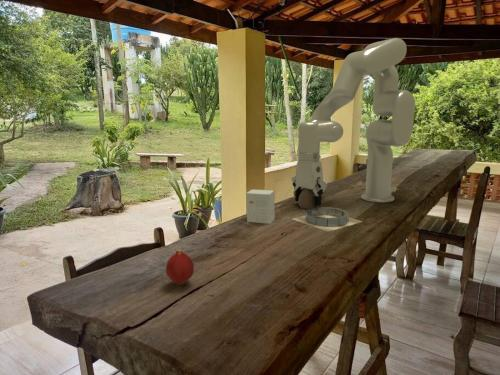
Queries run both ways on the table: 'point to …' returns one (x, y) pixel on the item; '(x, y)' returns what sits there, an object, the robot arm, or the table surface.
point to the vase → (306, 199)
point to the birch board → (350, 222)
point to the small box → (260, 206)
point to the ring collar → (327, 222)
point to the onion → (180, 268)
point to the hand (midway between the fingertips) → (307, 203)
